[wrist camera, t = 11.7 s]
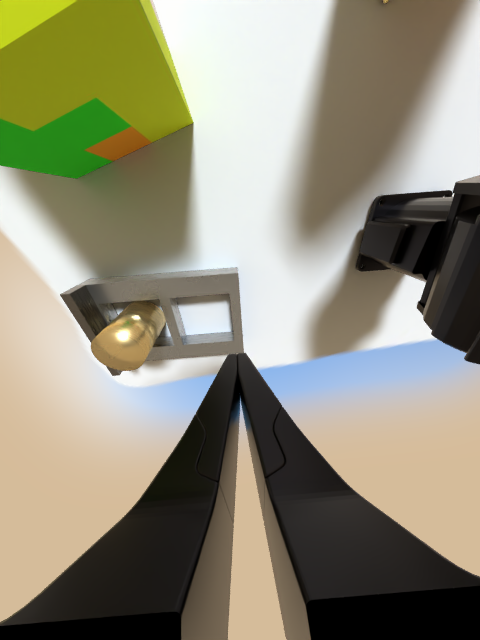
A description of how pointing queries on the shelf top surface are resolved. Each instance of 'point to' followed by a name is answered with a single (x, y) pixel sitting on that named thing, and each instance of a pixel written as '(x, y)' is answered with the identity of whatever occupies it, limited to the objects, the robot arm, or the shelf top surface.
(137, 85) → the puzzle toy
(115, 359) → the gold metal cylinder
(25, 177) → the shelf top surface
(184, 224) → the shelf top surface
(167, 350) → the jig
